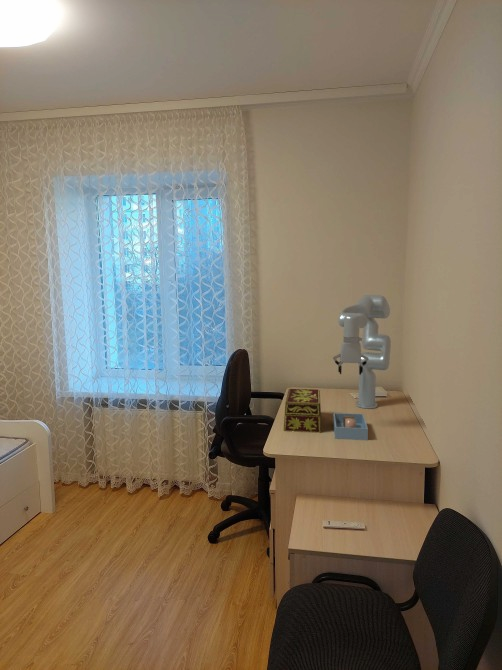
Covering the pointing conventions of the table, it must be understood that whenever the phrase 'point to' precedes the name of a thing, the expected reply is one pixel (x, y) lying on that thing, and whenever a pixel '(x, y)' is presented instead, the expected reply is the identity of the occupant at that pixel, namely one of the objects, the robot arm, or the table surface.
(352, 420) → the canister
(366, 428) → the tote
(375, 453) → the table surface
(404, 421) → the table surface
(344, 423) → the walnut block
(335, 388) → the table surface
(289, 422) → the decorative box
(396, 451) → the table surface
